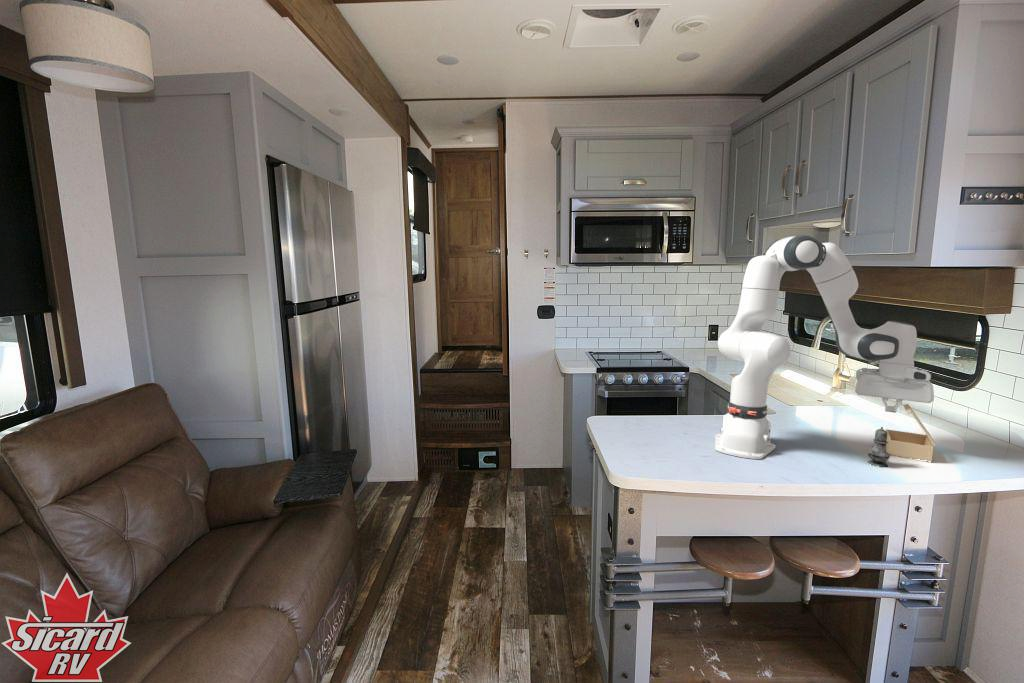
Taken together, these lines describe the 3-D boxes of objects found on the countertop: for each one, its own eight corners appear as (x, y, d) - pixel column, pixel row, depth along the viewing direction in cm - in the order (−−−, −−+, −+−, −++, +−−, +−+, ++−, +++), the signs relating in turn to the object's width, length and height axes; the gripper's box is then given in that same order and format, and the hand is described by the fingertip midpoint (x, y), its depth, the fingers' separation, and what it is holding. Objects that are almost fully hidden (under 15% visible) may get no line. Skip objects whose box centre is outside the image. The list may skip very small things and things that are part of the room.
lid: (931, 447, 150) (936, 445, 149) (907, 414, 152) (912, 412, 152) (924, 435, 161) (929, 433, 161) (903, 404, 164) (907, 402, 163)
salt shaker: (884, 469, 145) (889, 430, 143) (862, 462, 150) (866, 425, 148) (893, 465, 148) (897, 427, 146) (870, 459, 153) (875, 422, 151)
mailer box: (931, 462, 150) (933, 446, 150) (887, 454, 157) (888, 439, 156) (925, 449, 162) (927, 434, 161) (884, 442, 168) (885, 428, 167)
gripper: (856, 368, 161) (852, 408, 162) (937, 376, 149) (931, 419, 151) (856, 365, 166) (852, 404, 168) (934, 372, 154) (928, 414, 156)
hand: (890, 411), depth 159 cm, fingers closed
